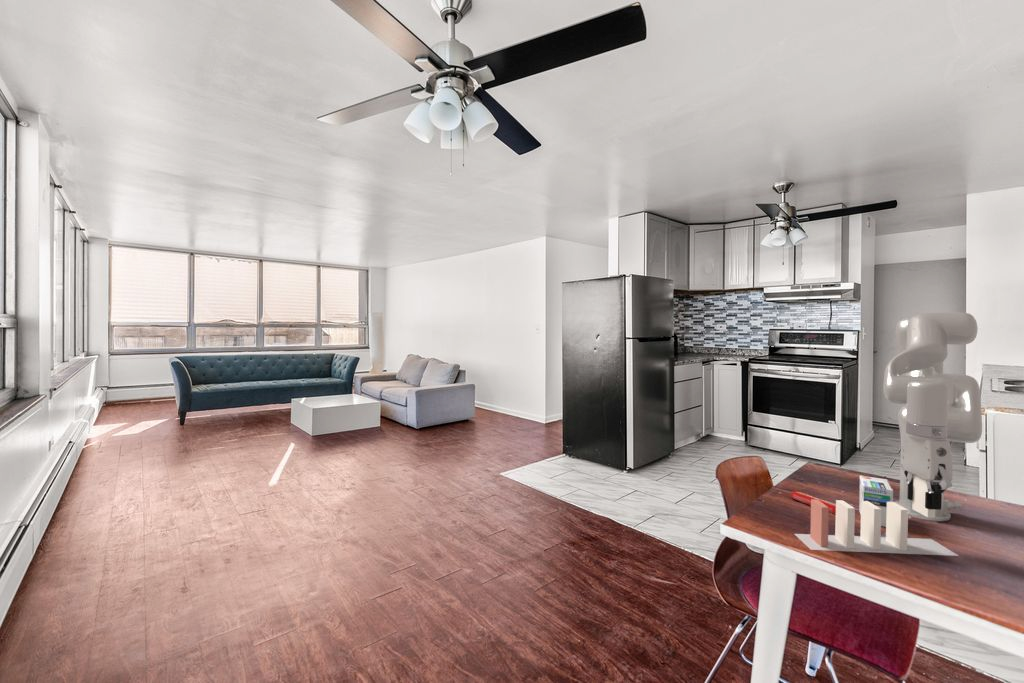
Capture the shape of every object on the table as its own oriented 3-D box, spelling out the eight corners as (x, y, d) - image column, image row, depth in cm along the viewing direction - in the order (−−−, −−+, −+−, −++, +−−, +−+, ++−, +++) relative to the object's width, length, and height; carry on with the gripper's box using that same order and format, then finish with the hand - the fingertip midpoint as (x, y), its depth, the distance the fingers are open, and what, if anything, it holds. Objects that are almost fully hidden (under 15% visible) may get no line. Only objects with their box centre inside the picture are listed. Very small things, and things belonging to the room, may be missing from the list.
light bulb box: (893, 530, 124) (894, 490, 123) (862, 524, 127) (863, 486, 127) (887, 515, 133) (888, 478, 132) (858, 510, 137) (858, 474, 136)
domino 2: (841, 538, 119) (842, 500, 118) (853, 548, 114) (854, 508, 113) (835, 538, 119) (835, 500, 118) (846, 547, 114) (847, 508, 113)
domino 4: (892, 540, 117) (893, 501, 117) (907, 550, 112) (908, 509, 112) (885, 540, 117) (886, 501, 117) (899, 549, 112) (901, 509, 112)
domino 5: (919, 509, 116) (920, 470, 116) (935, 517, 111) (936, 476, 111) (912, 509, 116) (913, 469, 116) (927, 517, 111) (929, 476, 111)
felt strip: (931, 540, 118) (931, 538, 118) (959, 557, 109) (959, 555, 109) (793, 535, 122) (793, 533, 122) (810, 551, 113) (810, 549, 113)
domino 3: (867, 539, 118) (868, 501, 117) (880, 549, 113) (881, 509, 112) (860, 539, 118) (861, 500, 118) (873, 548, 113) (874, 508, 113)
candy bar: (848, 516, 133) (848, 506, 133) (840, 518, 132) (840, 508, 132) (794, 497, 148) (795, 488, 148) (787, 499, 146) (787, 489, 146)
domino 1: (816, 537, 119) (817, 499, 119) (827, 547, 114) (828, 507, 114) (810, 537, 119) (811, 499, 119) (821, 546, 115) (821, 507, 114)
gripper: (973, 440, 104) (971, 519, 105) (916, 423, 121) (914, 492, 121) (937, 439, 105) (934, 518, 105) (885, 423, 122) (883, 491, 122)
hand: (923, 503), depth 113 cm, fingers closed on domino 5, 4 cm apart
